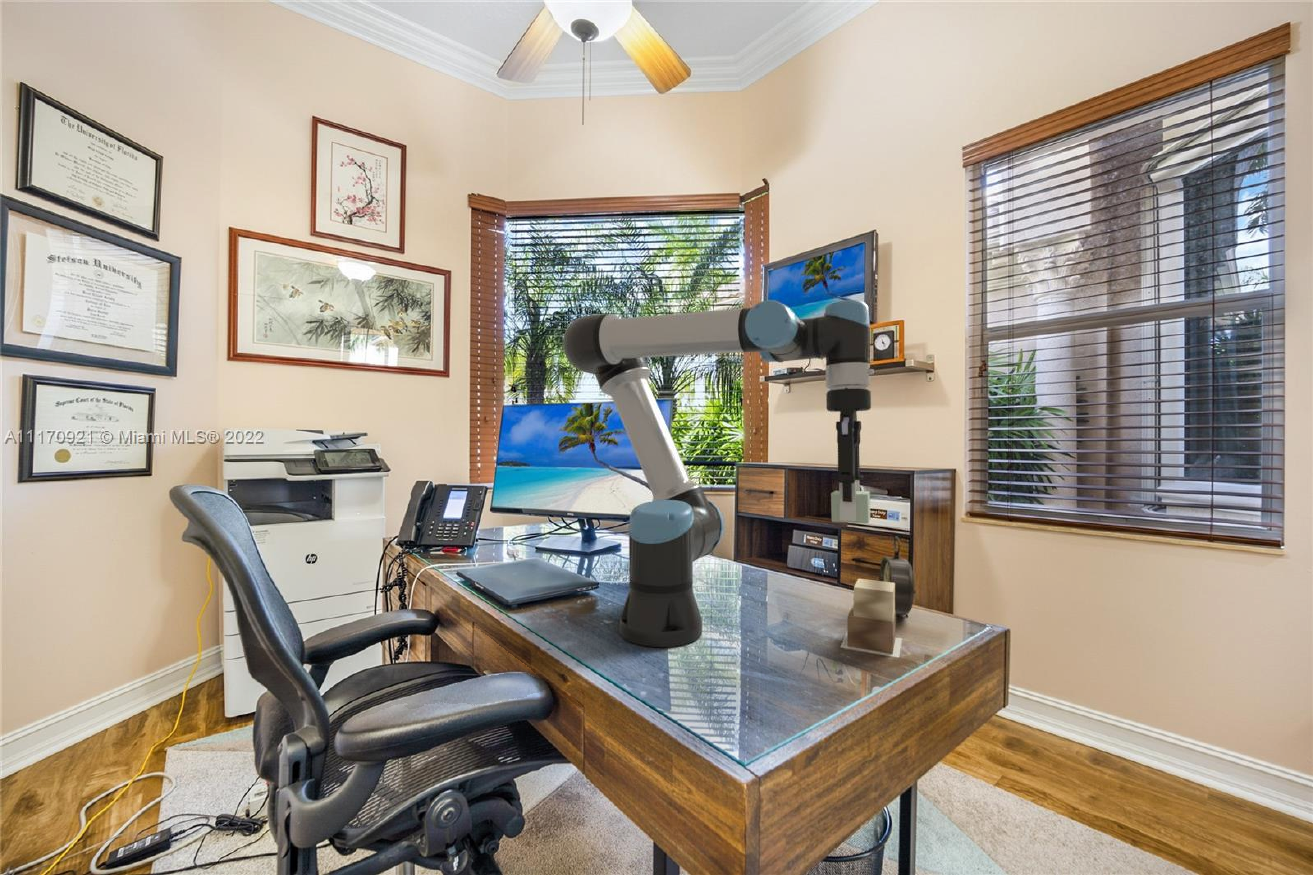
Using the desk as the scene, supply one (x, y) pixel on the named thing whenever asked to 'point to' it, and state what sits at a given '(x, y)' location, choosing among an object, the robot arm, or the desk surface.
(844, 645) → the mat
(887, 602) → the maple brick
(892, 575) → the alarm clock
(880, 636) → the walnut brick
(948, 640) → the desk surface
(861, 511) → the sage brick
